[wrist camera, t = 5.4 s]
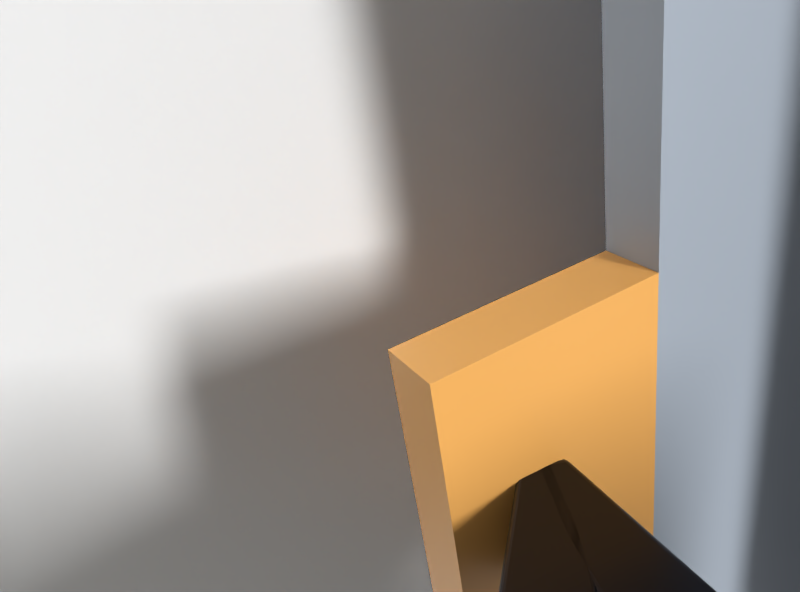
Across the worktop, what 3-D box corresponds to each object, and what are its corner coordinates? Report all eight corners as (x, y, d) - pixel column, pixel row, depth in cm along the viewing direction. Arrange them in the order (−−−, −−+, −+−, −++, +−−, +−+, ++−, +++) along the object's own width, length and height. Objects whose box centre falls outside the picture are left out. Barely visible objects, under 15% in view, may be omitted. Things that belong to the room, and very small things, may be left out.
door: (822, 655, 15) (517, 916, 12) (777, 620, 16) (480, 858, 13) (1024, -391, 7) (317, -375, 4) (916, -358, 8) (255, -324, 5)
